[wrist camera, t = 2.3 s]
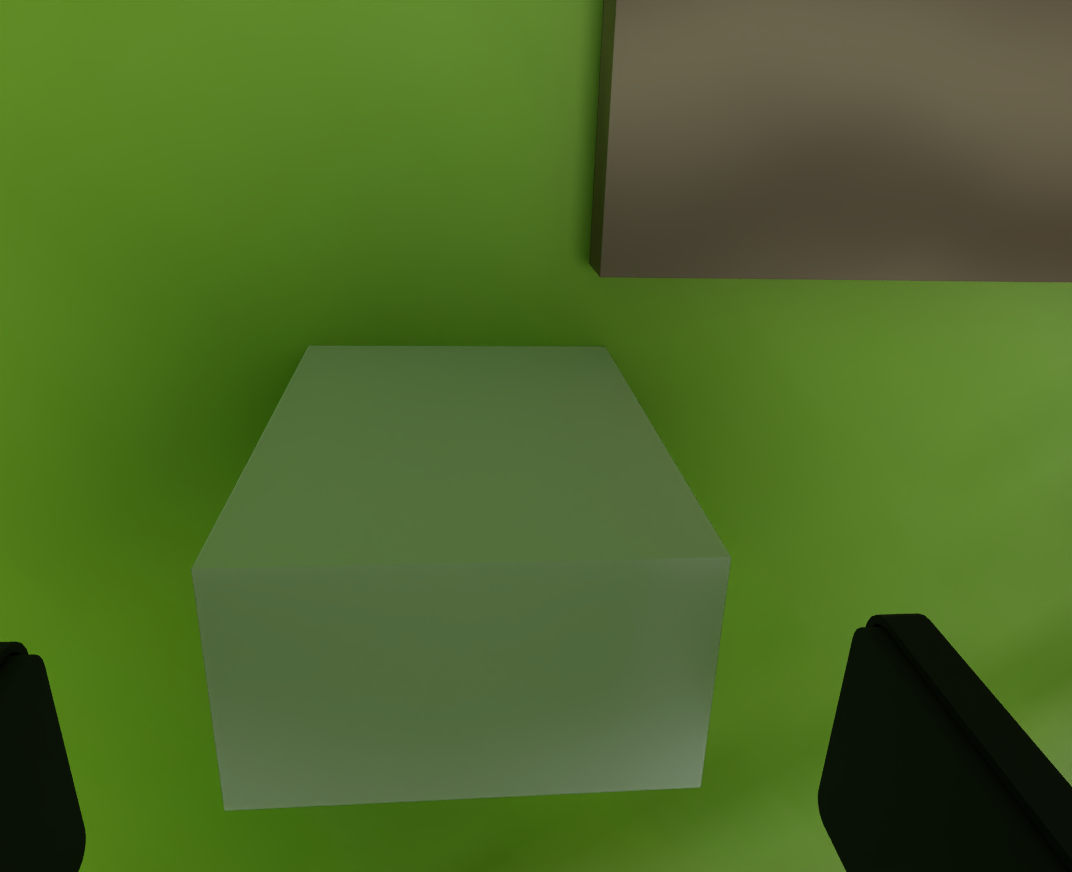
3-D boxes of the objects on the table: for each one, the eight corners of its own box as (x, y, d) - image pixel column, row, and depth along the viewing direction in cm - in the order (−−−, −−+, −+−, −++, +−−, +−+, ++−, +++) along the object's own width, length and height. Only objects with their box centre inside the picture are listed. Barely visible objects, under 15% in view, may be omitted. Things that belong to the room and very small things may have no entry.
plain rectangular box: (595, 495, 22) (700, 787, 13) (319, 499, 22) (224, 810, 12) (604, 346, 21) (731, 556, 12) (308, 345, 20) (191, 569, 11)
